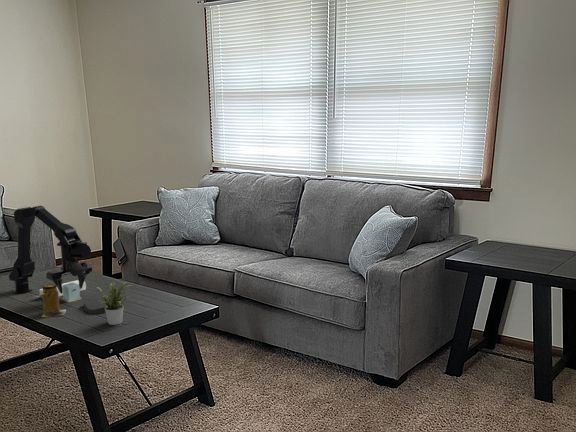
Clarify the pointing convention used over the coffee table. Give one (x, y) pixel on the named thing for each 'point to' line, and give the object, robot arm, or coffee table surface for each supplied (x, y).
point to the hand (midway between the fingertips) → (71, 290)
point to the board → (71, 300)
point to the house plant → (114, 304)
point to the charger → (71, 291)
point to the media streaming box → (96, 305)
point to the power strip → (62, 290)
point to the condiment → (51, 301)
